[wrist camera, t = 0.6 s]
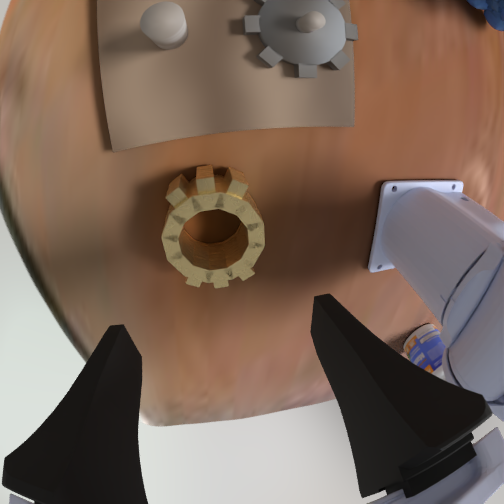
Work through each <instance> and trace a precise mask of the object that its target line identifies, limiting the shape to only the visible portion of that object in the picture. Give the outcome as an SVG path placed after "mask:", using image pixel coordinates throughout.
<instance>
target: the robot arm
mask: <svg viewBox="0 0 504 504" xmlns="http://www.w3.org/2000/svg"><path fill="white" fill-rule="evenodd" d="M393 186H394V189H393V190H392V187H393ZM462 190H463V182H462V181H460V180H407V181H386V182H384V183H383V185H382V187H381V194H380V201H379V208H378V215H377V221H376V227H375V233H374V239H373V244H372V249H371V254H370V259H369V264H368V269H369V271H370V272H378V271H382V270H387V269H392V268H396V269H397V270H398V271H399V272H400V273H401V275H402V276H403V277H404V278H405V279H406V281H407V282H408V283H409V284H410V285H411V287H412V288H413V289H414V290H415V291H416V293H417V294H418V295H419V296H420V298H421V299H422V300H423V301H424V303H425V304H426V305H427V306H428V308H429V309H430V310H431V312H432V313H433V314H434V316H435V317H436V318H437V320H438V321H439V322H440V324H441V325H442V326H443V329H442V331H441V333H440V335H439V337H440V339H441V340H442V342H443V343H444V345H445V346H446V347H445V350H444V352H443V356H442V367H443V372H444V375H445V378H446V380H447V381H445V380H443V379H441V378H439V377H437V376H435V375H433V374H431V373H429V372H428V371H426V370H424V369H422V368H420V367H419V366H417V365H415V364H414V363H412V362H410V361H409V360H407V359H406V358H404V357H403V356H402V355H400V354H399V353H397V352H396V351H395V350H393V349H392V348H391V347H389V346H388V345H387V344H385V343H384V342H383V341H382V340H380V339H379V338H378V337H377V336H376V335H374V334H373V333H372V332H371V331H370V330H369V329H367V328H366V327H365V326H364V325H363V324H362V323H361V322H359V321H358V320H357V319H356V318H355V317H354V316H353V315H352V314H351V313H350V312H349V311H348V310H347V309H346V308H344V307H343V306H342V305H341V304H340V303H339V302H338V301H337V300H336V299H335V298H334V297H333V296H332V295H331V294H324V295H319V296H314V304H313V314H312V323H311V336H312V339H313V342H314V346H315V349H316V352H317V355H318V358H319V360H320V362H321V365H322V367H323V369H324V371H325V374H326V376H327V378H328V381H329V383H330V385H331V387H332V390H333V392H334V394H335V397H336V399H337V401H338V404H339V407H340V409H341V413H342V416H343V419H344V423H345V426H346V430H347V433H348V437H349V441H350V445H351V449H352V453H353V458H354V463H355V467H356V473H357V479H358V485H359V491H360V494H361V497H362V498H364V497H367V496H370V495H373V494H375V493H378V492H381V491H383V490H386V493H387V495H386V496H384V497H382V498H380V499H377V500H375V501H373V502H370V503H367V504H484V503H485V501H487V500H488V499H489V498H490V497H491V496H492V495H493V494H494V493H495V492H496V491H497V490H498V489H499V488H500V487H501V486H502V485H503V484H504V439H503V437H502V435H501V433H500V431H499V429H498V427H496V428H494V429H493V430H492V431H490V432H489V433H488V434H487V435H485V436H484V437H483V438H481V439H480V440H479V441H477V442H476V443H474V444H472V443H471V441H472V440H473V439H474V437H473V434H472V431H473V430H474V429H476V428H477V427H478V426H480V425H481V424H482V423H483V422H485V421H486V420H487V419H488V418H489V417H491V416H492V413H493V414H494V415H496V416H497V417H498V418H499V419H501V420H502V421H504V222H503V221H502V220H501V219H499V218H498V217H497V216H495V215H494V214H492V213H491V212H490V211H488V210H487V209H485V208H484V207H483V206H481V205H480V204H478V203H477V202H475V201H474V200H472V199H471V198H469V197H468V196H466V195H465V194H463V193H462ZM378 265H379V266H378ZM141 387H142V356H141V354H140V353H139V351H138V349H137V348H136V346H135V344H134V342H133V341H132V339H131V337H130V335H129V333H128V332H127V330H126V328H125V326H124V324H123V325H112V326H109V328H108V329H107V331H106V332H105V334H104V335H103V337H102V339H101V340H100V342H99V343H98V345H97V347H96V348H95V350H94V352H93V353H92V355H91V357H90V358H89V360H88V361H87V363H86V365H85V366H84V368H83V370H82V371H81V373H80V374H79V376H78V377H77V379H76V380H75V382H74V383H73V385H72V387H71V388H70V390H69V391H68V392H67V394H66V395H65V397H64V398H63V399H62V401H61V402H60V403H59V405H58V406H57V407H56V408H55V410H54V411H53V412H52V413H51V415H50V416H49V417H48V418H47V419H46V420H45V421H44V422H43V424H42V425H41V426H40V427H39V428H38V429H37V430H36V431H35V432H34V433H33V434H32V435H31V436H30V437H29V438H28V439H27V440H26V441H25V442H24V443H23V444H21V445H20V446H19V447H18V448H17V449H15V450H14V451H13V452H12V453H10V454H9V455H8V456H7V457H5V460H4V468H3V477H2V485H3V486H4V487H6V488H8V489H10V490H11V491H14V492H16V493H18V494H20V495H22V496H24V497H27V498H29V499H31V500H34V503H32V502H29V501H27V500H25V499H23V498H20V497H18V496H16V495H13V494H10V502H9V504H148V501H147V498H146V494H145V489H144V484H143V479H142V472H141V465H140V457H139V445H138V422H139V409H140V398H141Z"/></svg>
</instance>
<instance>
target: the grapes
mask: <svg viewBox="0 0 504 504" xmlns="http://www.w3.org/2000/svg"><path fill="white" fill-rule="evenodd" d="M467 1H468V3H469V4H470V5H472V6H473V7H475V8H476V9H481V10H484V16H485V18H486V20H487V22H488V23H489V24H490V25H491V26H492V27H493V28H494V29H496V30H499V31H504V0H467Z"/></svg>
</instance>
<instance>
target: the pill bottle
mask: <svg viewBox="0 0 504 504" xmlns="http://www.w3.org/2000/svg"><path fill="white" fill-rule="evenodd" d="M439 335H440V332H439V331H438V329H437V328H436V327H435V326H434V325H433V324H426V325H424V326H422V327H420V328H418V329H417V330H415V331H414V332H413V333H412V334H411V335H410V336H409V337H408V338H407V340H406V341H405V343H404V346H403V348H404V351H405V353H406V354H407V356H408V358H409V359H410V361H411V362H412V363H414V364H415V365H417V366H419V367H420V368H422V369H424V370H426V371H428V372H429V373H431V374H433V375H435V376H437V377H439V378H441V379H443V380H445V381H447V380H446V378H445V375H444V372H443V367H442V356H443V352H444V350H445V347H446V346H445V345H444V343H443V342H442V340H441V339H440V337H439Z"/></svg>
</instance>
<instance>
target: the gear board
mask: <svg viewBox="0 0 504 504" xmlns="http://www.w3.org/2000/svg"><path fill="white" fill-rule="evenodd" d="M97 31H98V48H99V61H100V72H101V81H102V89H103V97H104V104H105V110H106V117H107V123H108V129H109V134H110V140H111V145H112V150H113V152H117V151H121V150H125V149H130V148H134V147H139V146H143V145H148V144H153V143H158V142H164V141H169V140H175V139H181V138H187V137H194V136H200V135H208V134H215V133H224V132H233V131H243V130H254V129H267V128H284V127H320V126H334V127H354V115H355V84H354V53H353V41H355V40H358V32H357V25H356V24H351V13H350V4H349V0H97Z"/></svg>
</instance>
